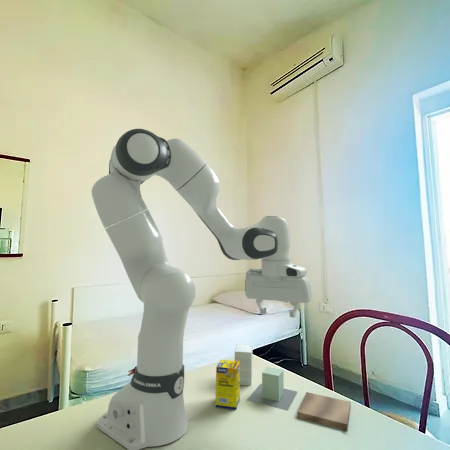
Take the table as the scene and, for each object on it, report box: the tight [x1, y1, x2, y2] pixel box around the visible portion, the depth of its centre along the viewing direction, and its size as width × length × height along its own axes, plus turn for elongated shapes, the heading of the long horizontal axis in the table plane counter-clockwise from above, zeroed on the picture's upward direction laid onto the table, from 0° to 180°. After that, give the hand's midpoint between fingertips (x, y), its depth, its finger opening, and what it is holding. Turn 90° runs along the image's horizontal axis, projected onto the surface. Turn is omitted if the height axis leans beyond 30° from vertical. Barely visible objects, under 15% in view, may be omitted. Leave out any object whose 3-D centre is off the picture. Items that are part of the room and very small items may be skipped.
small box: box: [234, 343, 254, 386], centre depth 99 cm, size 8×6×10 cm
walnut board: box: [296, 392, 352, 431], centre depth 79 cm, size 12×12×2 cm
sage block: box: [261, 366, 285, 401], centre depth 88 cm, size 5×5×7 cm
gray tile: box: [246, 383, 299, 411], centre depth 88 cm, size 12×12×1 cm
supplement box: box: [215, 359, 241, 411], centre depth 84 cm, size 6×6×11 cm
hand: (277, 315), depth 89 cm, fingers open, 8 cm apart
